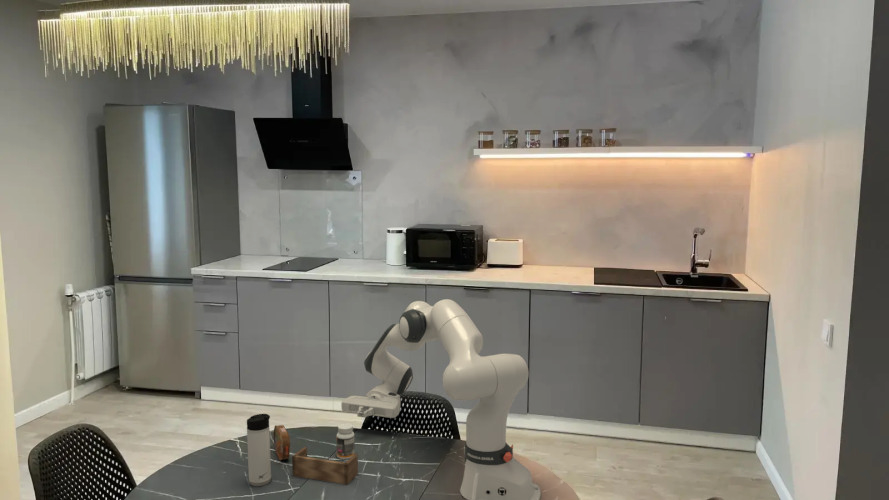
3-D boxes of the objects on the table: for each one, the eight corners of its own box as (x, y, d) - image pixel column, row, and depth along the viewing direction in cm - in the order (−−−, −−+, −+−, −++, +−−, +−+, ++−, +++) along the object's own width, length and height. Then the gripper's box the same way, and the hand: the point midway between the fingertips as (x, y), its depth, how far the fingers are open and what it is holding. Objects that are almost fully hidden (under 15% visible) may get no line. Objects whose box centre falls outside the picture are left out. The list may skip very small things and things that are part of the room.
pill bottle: (333, 455, 203) (332, 425, 202) (349, 450, 207) (348, 421, 205) (342, 461, 199) (341, 431, 197) (358, 456, 202) (357, 426, 201)
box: (358, 473, 190) (357, 454, 190) (347, 484, 184) (347, 464, 183) (304, 465, 196) (304, 446, 195) (292, 475, 189) (292, 456, 188)
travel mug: (266, 487, 182) (263, 420, 180) (244, 485, 183) (242, 418, 181) (276, 477, 188) (273, 412, 186) (255, 475, 189) (253, 410, 187)
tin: (273, 446, 210) (272, 421, 209) (282, 444, 211) (281, 420, 210) (281, 464, 196) (280, 438, 195) (292, 463, 198) (291, 437, 197)
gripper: (351, 388, 229) (333, 402, 216) (404, 395, 223) (388, 409, 210) (351, 405, 230) (333, 420, 217) (404, 412, 224) (388, 427, 211)
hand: (361, 415), depth 213 cm, fingers closed
